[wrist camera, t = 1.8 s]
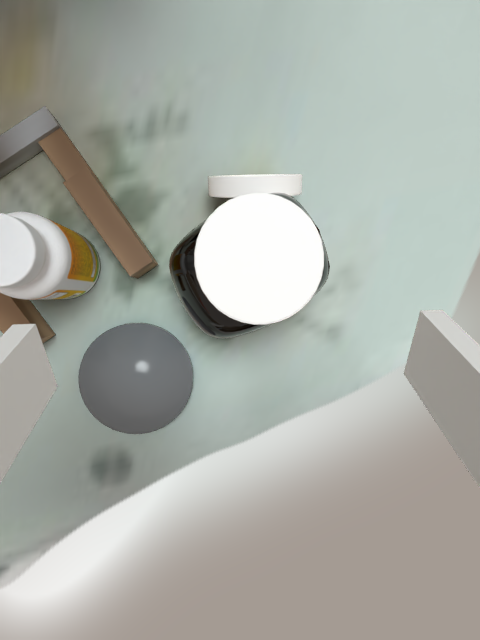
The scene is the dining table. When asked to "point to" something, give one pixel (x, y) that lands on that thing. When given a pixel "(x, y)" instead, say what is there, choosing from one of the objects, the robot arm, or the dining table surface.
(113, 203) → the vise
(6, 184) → the dining table surface
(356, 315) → the dining table surface
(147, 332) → the pad
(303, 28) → the dining table surface
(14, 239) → the supplement bottle
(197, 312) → the spread jar
